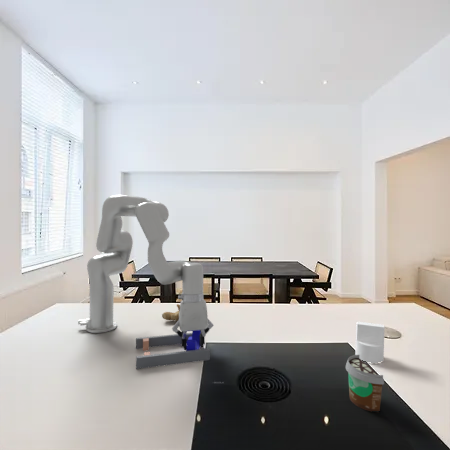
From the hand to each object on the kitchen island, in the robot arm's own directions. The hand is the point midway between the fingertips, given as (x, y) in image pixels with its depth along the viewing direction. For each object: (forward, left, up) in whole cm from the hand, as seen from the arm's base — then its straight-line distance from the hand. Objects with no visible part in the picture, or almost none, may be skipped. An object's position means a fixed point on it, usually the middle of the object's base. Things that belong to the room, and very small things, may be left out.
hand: (193, 346), depth 109 cm
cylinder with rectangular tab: (+59, -20, -2) cm, 63 cm away
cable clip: (0, 0, -2) cm, 2 cm away
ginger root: (+2, +34, -2) cm, 34 cm away
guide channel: (-8, +1, -2) cm, 8 cm away
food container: (+37, -40, -2) cm, 55 cm away
